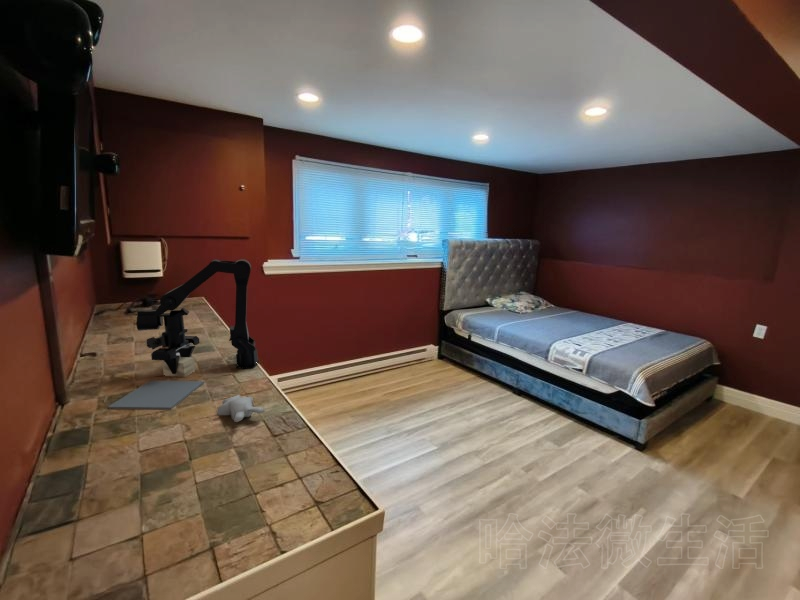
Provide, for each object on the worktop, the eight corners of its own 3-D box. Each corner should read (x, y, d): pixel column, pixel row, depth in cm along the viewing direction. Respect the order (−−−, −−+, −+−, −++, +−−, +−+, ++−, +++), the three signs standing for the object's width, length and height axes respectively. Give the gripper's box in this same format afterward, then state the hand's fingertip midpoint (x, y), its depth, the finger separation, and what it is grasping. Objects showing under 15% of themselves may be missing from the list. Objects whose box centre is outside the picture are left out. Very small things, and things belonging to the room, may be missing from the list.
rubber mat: (204, 382, 121) (204, 381, 121) (171, 409, 103) (170, 407, 103) (150, 382, 121) (150, 380, 121) (107, 408, 103) (107, 406, 103)
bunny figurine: (245, 388, 108) (267, 400, 98) (247, 405, 109) (269, 418, 98) (211, 399, 102) (231, 412, 91) (213, 416, 102) (233, 431, 91)
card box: (195, 370, 131) (194, 357, 130) (184, 376, 126) (183, 363, 125) (175, 369, 132) (173, 356, 131) (163, 375, 127) (162, 361, 126)
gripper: (168, 320, 135) (172, 360, 138) (131, 335, 116) (138, 381, 119) (198, 321, 135) (202, 361, 138) (166, 335, 116) (171, 381, 119)
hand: (179, 370), depth 129 cm, fingers closed on card box, 6 cm apart
